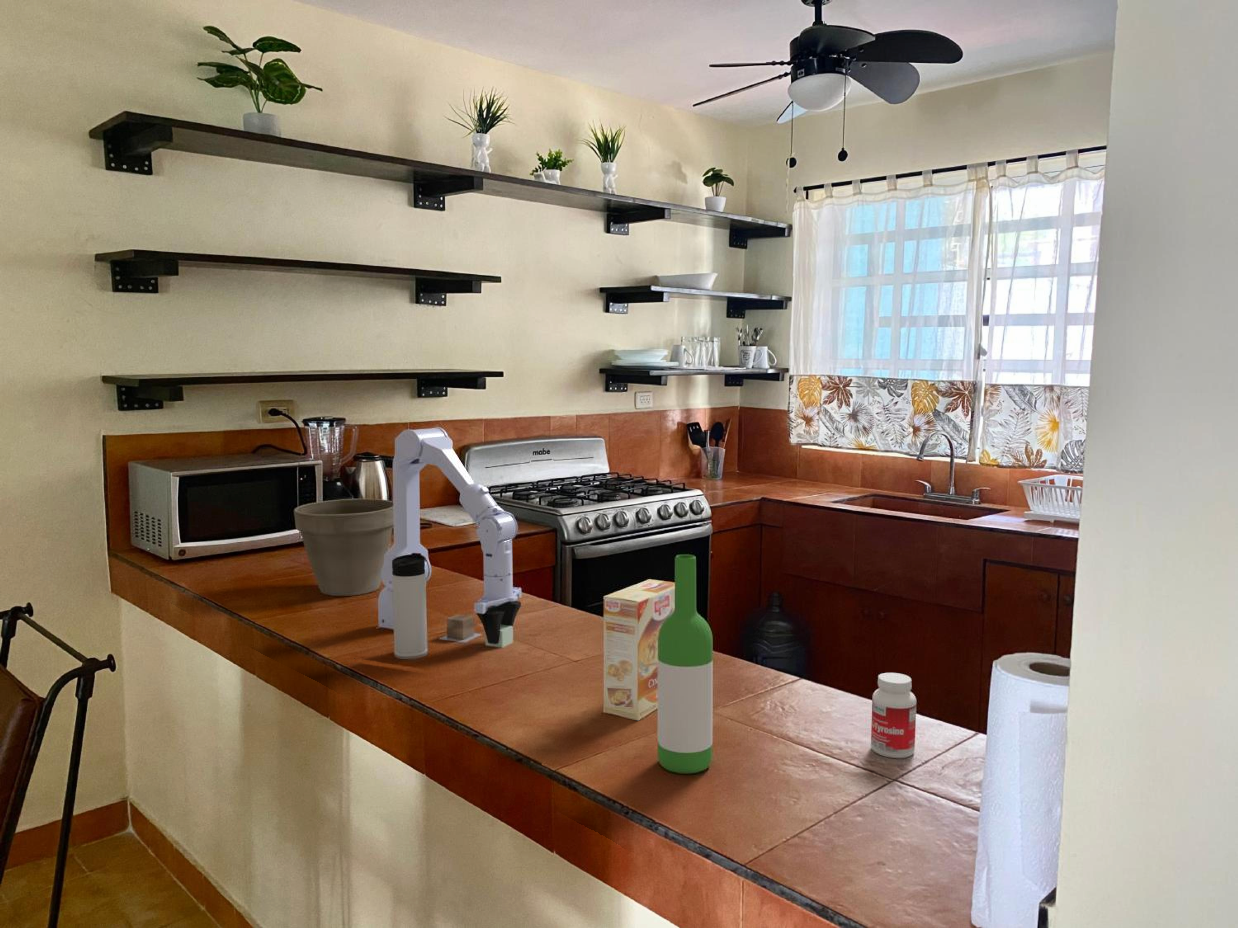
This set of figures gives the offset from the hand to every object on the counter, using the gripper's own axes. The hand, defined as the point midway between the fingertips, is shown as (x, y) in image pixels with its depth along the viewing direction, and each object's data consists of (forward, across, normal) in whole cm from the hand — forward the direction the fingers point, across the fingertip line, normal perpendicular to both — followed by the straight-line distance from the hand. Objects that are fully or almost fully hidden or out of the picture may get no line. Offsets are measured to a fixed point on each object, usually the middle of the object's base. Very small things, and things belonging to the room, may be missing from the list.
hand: (499, 639), depth 188 cm
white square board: (+1, +1, +10) cm, 10 cm away
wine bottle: (+2, -37, -54) cm, 65 cm away
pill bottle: (+2, -20, -80) cm, 82 cm away
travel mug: (+2, -13, +12) cm, 18 cm away
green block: (+1, 0, 0) cm, 1 cm away
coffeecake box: (+2, -17, -39) cm, 43 cm away
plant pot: (+2, +26, +61) cm, 66 cm away
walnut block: (+1, +1, +10) cm, 10 cm away
